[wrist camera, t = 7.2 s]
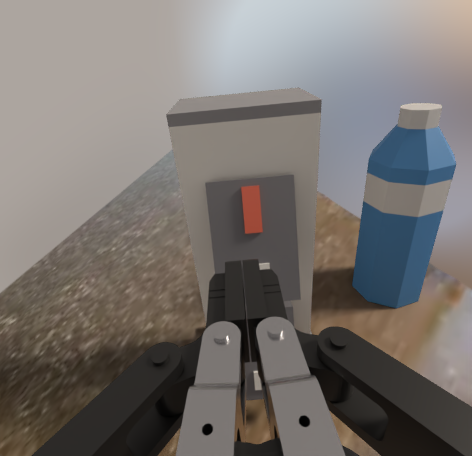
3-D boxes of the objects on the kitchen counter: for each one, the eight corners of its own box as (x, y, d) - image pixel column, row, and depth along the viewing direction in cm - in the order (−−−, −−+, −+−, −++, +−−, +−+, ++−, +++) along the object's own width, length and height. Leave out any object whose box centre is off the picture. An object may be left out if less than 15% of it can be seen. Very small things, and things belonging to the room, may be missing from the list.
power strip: (207, 327, 42) (165, 98, 27) (304, 319, 42) (312, 84, 27) (203, 399, 33) (137, 121, 19) (325, 389, 33) (353, 100, 18)
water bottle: (432, 284, 45) (487, 101, 33) (401, 319, 40) (452, 119, 28) (371, 258, 51) (398, 97, 39) (338, 285, 47) (357, 111, 34)
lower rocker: (233, 391, 30) (224, 306, 28) (295, 387, 30) (290, 300, 28) (233, 403, 28) (223, 313, 27) (298, 398, 28) (293, 307, 26)
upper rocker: (219, 299, 24) (206, 182, 22) (297, 293, 24) (290, 174, 22) (218, 308, 22) (204, 183, 21) (301, 301, 22) (294, 174, 21)
